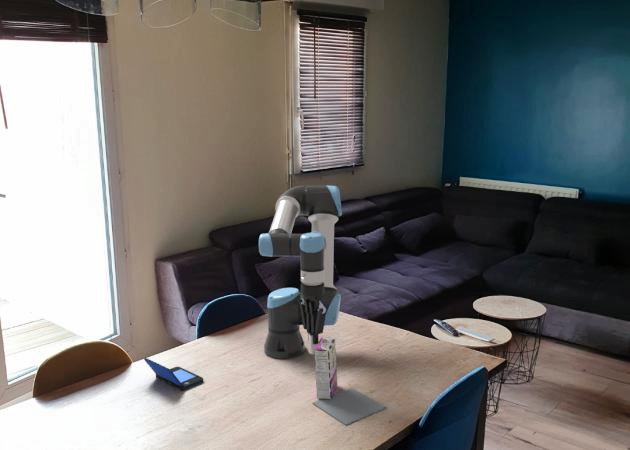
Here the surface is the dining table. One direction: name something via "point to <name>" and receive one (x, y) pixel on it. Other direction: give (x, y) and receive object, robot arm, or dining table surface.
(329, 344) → the candy bar box
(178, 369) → the handheld game console
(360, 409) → the mat
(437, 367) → the dining table surface
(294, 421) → the dining table surface
